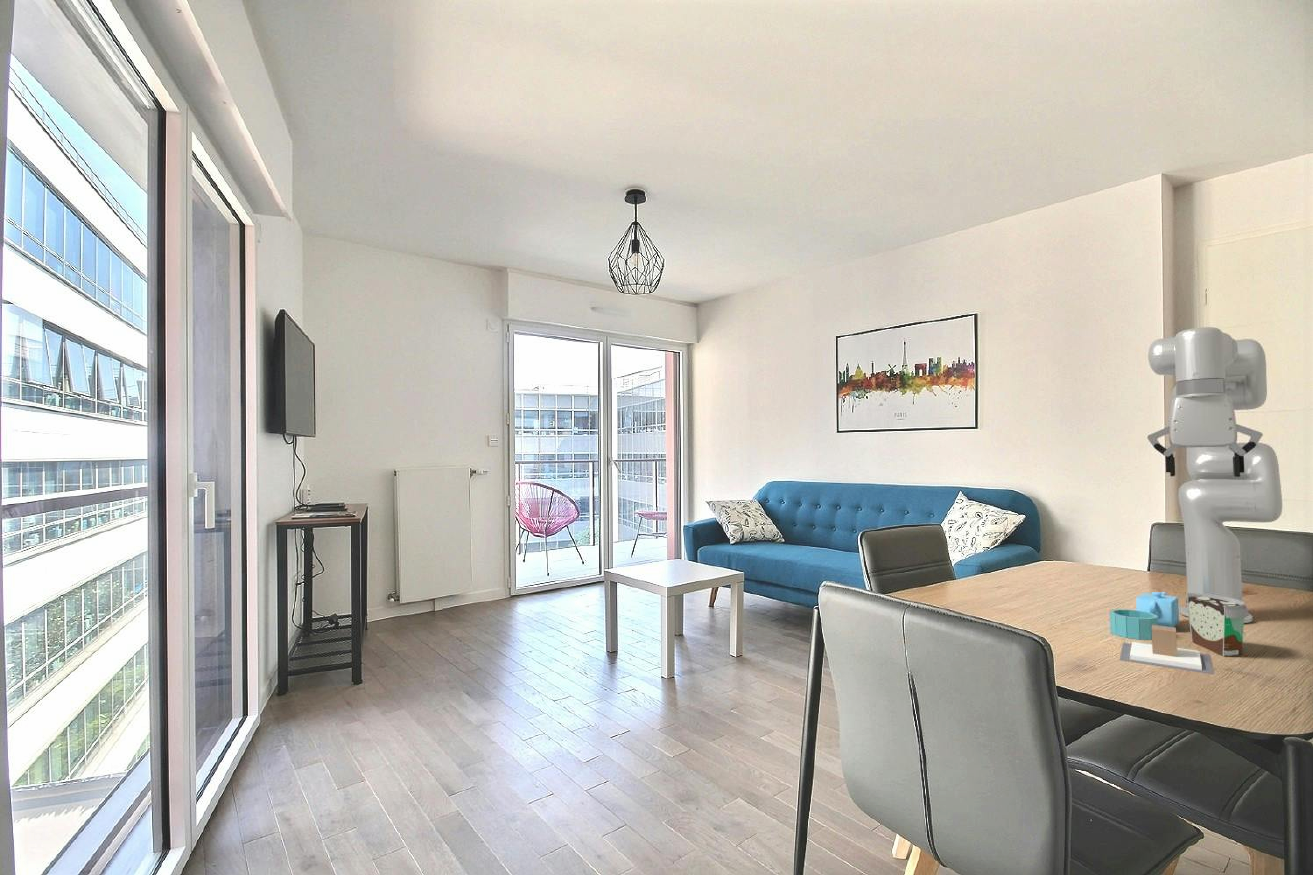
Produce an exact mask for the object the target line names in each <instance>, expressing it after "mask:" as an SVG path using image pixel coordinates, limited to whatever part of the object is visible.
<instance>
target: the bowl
mask: <svg viewBox="0 0 1313 875" xmlns="http://www.w3.org/2000/svg"><path fill="white" fill-rule="evenodd" d="M1152 625H1157V626H1158V616H1157V615H1155V614H1153V613H1149V612H1144V611H1138V610H1137V609H1129V608H1126V609H1125V608H1123V609H1122V608H1116V609H1110V611H1109V626H1110V629H1109V630H1110V633H1111V634H1113V635H1115V636H1118V637H1122V638H1127V639H1132V640H1133V639H1134V640H1140V641H1141V640H1144V641H1145V640H1147V641H1152Z"/></svg>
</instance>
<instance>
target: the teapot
mask: <svg viewBox="0 0 1313 875" xmlns="http://www.w3.org/2000/svg"><path fill="white" fill-rule="evenodd" d="M1166 594H1167V593H1166V591H1161V592H1159V591H1152V592H1151V593H1148V592H1143V593H1142V594H1140V595H1138V596H1137V597H1136V598H1135V603H1136V604H1135V606H1136V609H1135V610H1138V611H1144V612H1149V613H1153V614H1155V615H1157V616H1158V626H1166V627H1174V628H1176V626H1177V625H1178V624H1179V623H1180V616H1179V615H1180V607H1179V597H1178V596H1173V595H1172V596H1171V595H1166Z"/></svg>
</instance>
